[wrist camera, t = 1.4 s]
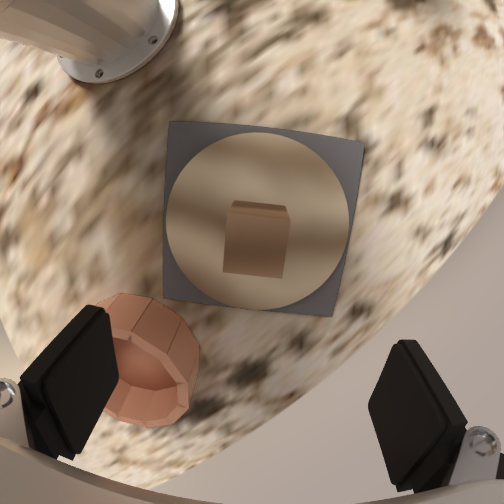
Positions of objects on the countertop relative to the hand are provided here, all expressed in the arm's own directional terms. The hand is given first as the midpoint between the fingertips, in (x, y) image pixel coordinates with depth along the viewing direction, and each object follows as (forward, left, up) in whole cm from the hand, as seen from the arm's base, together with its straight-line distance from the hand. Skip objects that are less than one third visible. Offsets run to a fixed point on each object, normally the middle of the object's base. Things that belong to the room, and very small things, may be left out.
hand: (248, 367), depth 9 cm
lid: (0, 0, -18) cm, 18 cm away
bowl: (+15, -11, -18) cm, 26 cm away
